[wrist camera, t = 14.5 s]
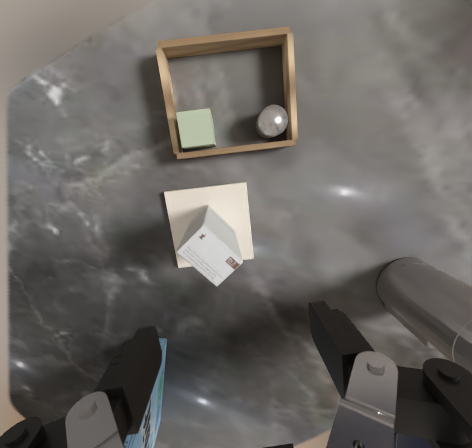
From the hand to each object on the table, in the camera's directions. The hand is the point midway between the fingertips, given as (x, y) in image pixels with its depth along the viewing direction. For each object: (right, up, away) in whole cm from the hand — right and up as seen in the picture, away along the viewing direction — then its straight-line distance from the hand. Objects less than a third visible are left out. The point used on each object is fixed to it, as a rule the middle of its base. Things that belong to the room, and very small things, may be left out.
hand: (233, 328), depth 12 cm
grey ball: (+5, +19, +21) cm, 29 cm away
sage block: (-5, +18, +21) cm, 29 cm away
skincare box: (-3, +5, +24) cm, 25 cm away
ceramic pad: (-4, +5, +25) cm, 25 cm away
